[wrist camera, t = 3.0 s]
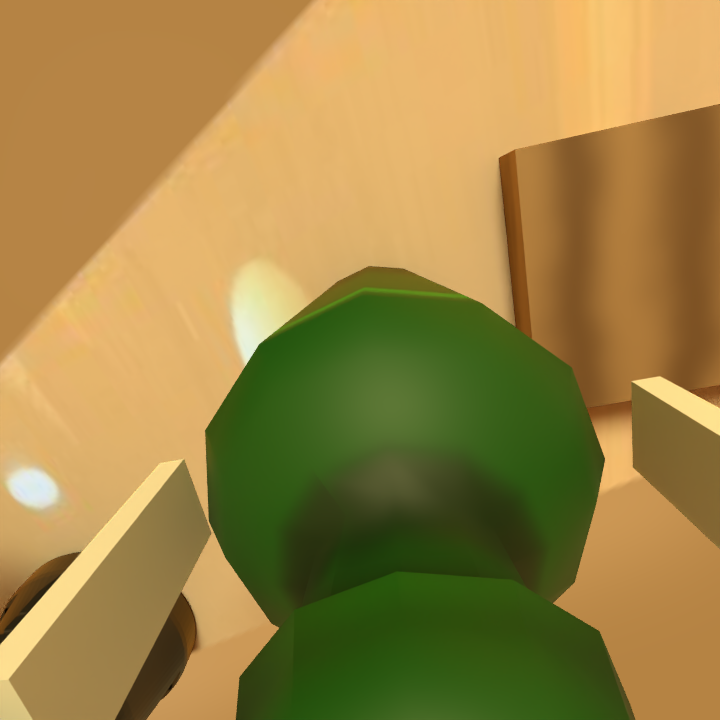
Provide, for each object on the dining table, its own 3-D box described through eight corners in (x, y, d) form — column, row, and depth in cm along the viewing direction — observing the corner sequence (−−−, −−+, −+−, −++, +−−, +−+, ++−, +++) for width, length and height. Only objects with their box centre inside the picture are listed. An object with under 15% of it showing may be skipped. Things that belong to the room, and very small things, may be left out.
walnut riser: (523, 398, 31) (539, 416, 28) (498, 157, 26) (515, 149, 23) (790, 350, 29) (836, 364, 27) (814, 87, 25) (873, 69, 22)
